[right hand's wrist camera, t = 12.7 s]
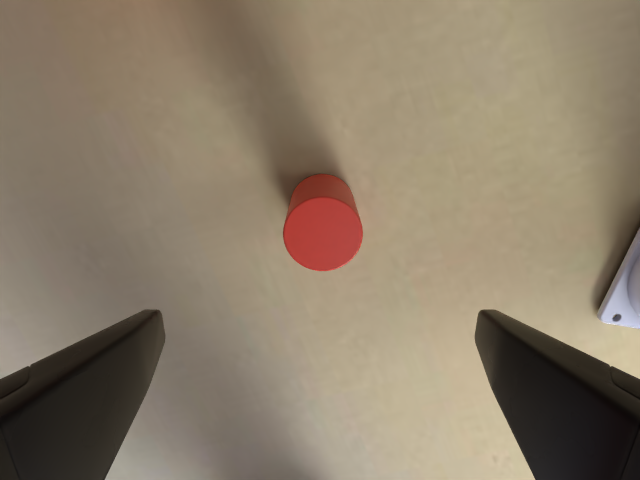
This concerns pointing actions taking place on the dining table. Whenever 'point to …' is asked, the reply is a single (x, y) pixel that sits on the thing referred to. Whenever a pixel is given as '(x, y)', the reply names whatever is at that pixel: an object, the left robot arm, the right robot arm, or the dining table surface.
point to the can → (322, 224)
